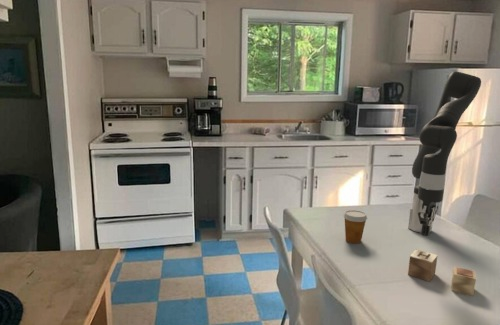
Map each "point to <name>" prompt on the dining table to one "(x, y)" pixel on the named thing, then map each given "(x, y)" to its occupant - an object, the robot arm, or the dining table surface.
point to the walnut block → (422, 265)
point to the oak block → (463, 281)
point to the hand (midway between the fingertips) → (425, 234)
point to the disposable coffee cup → (354, 225)
